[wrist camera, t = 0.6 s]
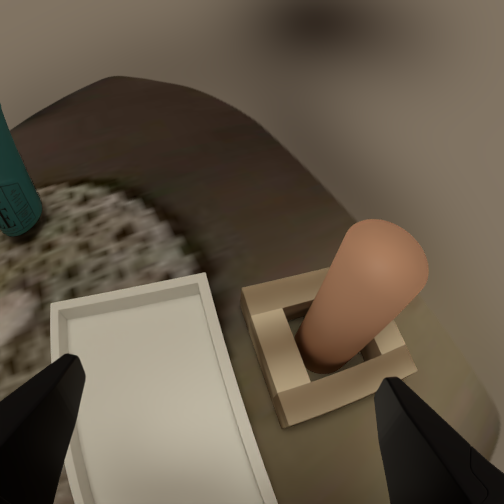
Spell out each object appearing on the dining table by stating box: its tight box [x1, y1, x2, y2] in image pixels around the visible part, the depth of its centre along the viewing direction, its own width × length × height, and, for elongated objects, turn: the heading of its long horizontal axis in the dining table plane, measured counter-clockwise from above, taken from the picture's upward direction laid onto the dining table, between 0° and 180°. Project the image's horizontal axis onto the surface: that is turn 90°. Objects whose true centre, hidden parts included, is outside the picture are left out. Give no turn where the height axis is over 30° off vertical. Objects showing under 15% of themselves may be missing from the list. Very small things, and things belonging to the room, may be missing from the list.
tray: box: [50, 273, 278, 504], centre depth 20 cm, size 20×14×2 cm
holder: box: [240, 267, 418, 429], centre depth 24 cm, size 11×11×3 cm
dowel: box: [294, 219, 429, 374], centre depth 20 cm, size 5×5×13 cm
